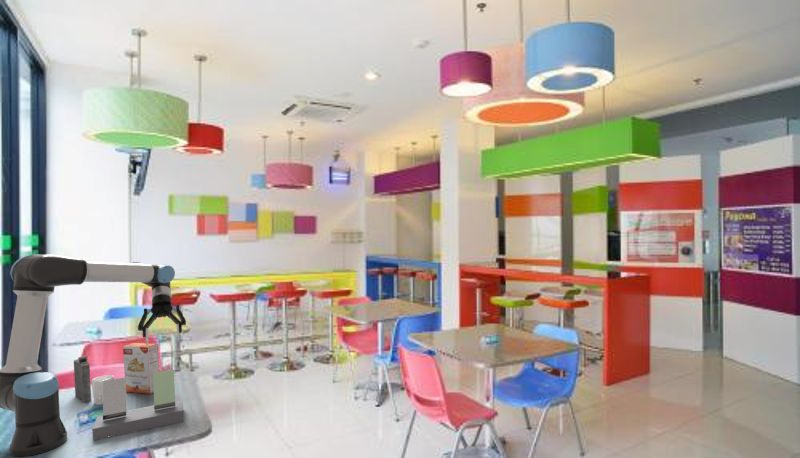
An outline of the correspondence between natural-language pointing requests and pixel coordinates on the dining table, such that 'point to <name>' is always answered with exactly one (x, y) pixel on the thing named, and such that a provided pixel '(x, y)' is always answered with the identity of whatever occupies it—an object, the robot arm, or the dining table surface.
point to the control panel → (138, 420)
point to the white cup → (99, 388)
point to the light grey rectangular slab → (114, 398)
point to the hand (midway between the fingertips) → (162, 340)
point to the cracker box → (140, 367)
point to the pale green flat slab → (164, 389)
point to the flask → (82, 379)
